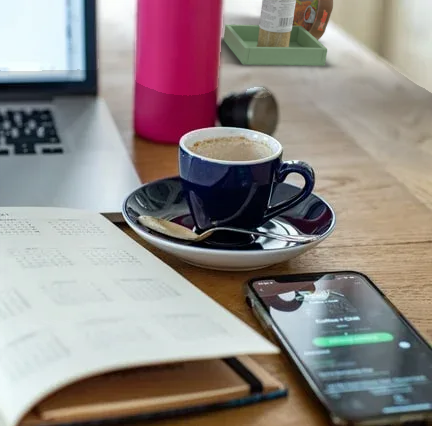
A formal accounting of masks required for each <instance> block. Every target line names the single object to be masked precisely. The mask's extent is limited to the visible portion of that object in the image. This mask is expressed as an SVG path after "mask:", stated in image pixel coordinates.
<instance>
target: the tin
mask: <svg viewBox="0 0 432 426" xmlns="http://www.w3.org/2000/svg"><path fill="white" fill-rule="evenodd" d="M333 8H334V0H296V3H295V10H294V17H293V24H292V26H302V27H303V28H305V29H306V30H307V31H308V32H309V33H310V34H311V35H312V36H313V37H315V38H316V39H317V40H318V41H319V40H320V39H321V38H322V37H323V36H324V34H325V33H326V30H327V26H328V23H329V22H330V18H331V14H332V13H333Z"/></svg>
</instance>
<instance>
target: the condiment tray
mask: <svg viewBox="0 0 432 426" xmlns="http://www.w3.org/2000/svg"><path fill="white" fill-rule="evenodd" d="M258 36H259V24H224V35H223V42H224V43H225V44H226V45H227V47H228V48H229V49H230V50H231V52H232V53H233V54H234V55H235V57H236V58H237V60H239V62H240V63H241V64H242V66H243V65H245V66H246V65H247V66H318V67H319V66H320V67H321V66H323V67H324V66H326V62H327V54H328V48H327V47H326V46H325V45H324V44H323V43H321V41H319V40H317V39H316V38H315V37H313V36H312V35H311V34H310V33H309V32H308V31H307V30H306V29H305V28H303V27H302V26H292V30H291V33H290V41H289V47H256V46H257V44H258Z"/></svg>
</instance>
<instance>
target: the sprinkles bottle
mask: <svg viewBox="0 0 432 426" xmlns="http://www.w3.org/2000/svg"><path fill="white" fill-rule="evenodd" d="M295 3H296V0H261V8H260V17H259V24H258V25H259V36H258V44H257V46H256V47H289V41H290V33H291V30H292V24H293V17H294V10H295Z"/></svg>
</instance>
